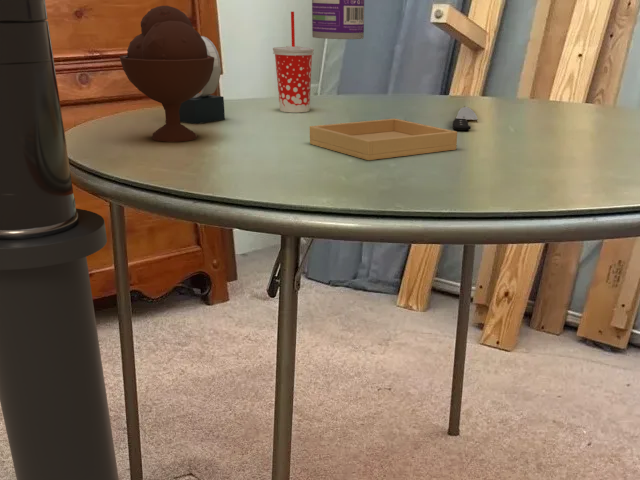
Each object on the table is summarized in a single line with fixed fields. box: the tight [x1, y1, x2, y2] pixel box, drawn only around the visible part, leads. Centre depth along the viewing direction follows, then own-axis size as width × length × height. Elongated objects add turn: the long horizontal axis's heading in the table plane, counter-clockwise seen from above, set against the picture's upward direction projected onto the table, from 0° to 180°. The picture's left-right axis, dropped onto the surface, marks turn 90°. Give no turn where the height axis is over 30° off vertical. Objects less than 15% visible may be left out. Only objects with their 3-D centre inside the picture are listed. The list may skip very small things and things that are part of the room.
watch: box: [179, 35, 226, 125], centre depth 110 cm, size 6×8×11 cm
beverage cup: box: [272, 11, 315, 113], centre depth 120 cm, size 6×6×14 cm
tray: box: [309, 118, 458, 161], centre depth 96 cm, size 13×12×2 cm
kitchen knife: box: [452, 106, 478, 131], centre depth 118 cm, size 23×3×1 cm, turn 171°
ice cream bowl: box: [119, 5, 214, 143], centre depth 96 cm, size 11×11×15 cm
